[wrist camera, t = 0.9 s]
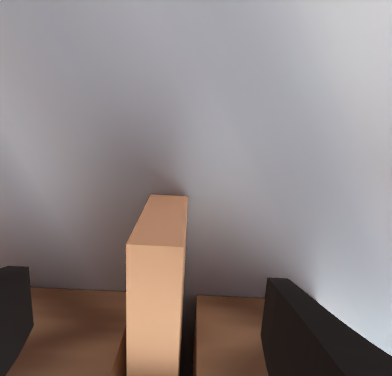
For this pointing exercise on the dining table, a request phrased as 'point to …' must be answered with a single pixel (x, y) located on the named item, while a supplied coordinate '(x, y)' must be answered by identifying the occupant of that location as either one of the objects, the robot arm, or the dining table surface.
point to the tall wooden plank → (156, 287)
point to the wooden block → (116, 335)
